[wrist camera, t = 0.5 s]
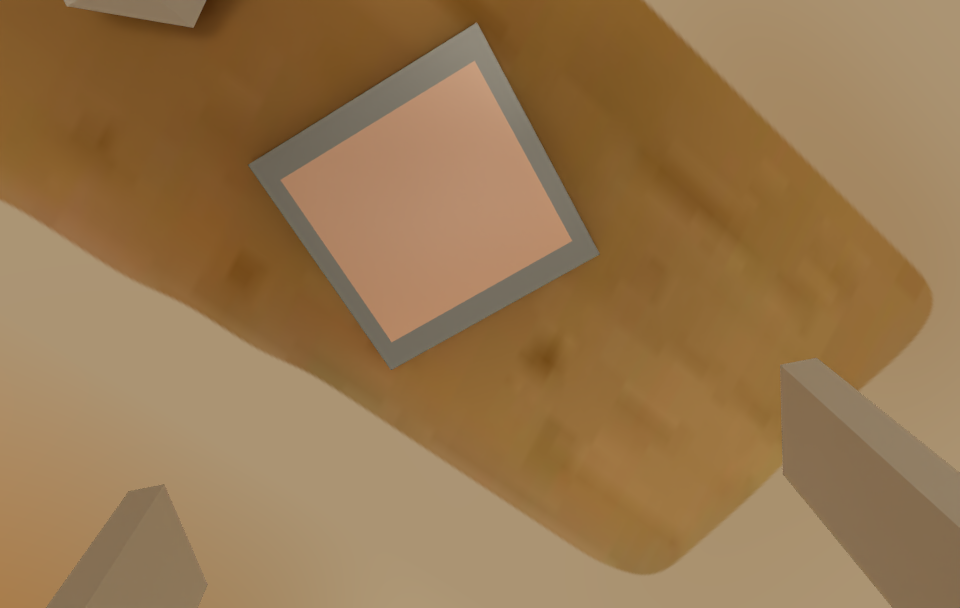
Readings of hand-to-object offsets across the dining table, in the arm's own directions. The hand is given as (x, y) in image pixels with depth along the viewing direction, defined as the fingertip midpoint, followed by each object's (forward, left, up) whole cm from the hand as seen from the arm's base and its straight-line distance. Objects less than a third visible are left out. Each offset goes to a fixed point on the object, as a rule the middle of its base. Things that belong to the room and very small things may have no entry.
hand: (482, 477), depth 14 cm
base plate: (-1, -1, -25) cm, 25 cm away
